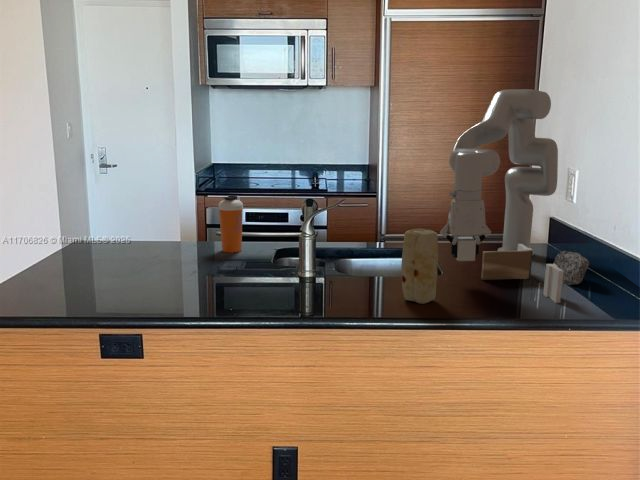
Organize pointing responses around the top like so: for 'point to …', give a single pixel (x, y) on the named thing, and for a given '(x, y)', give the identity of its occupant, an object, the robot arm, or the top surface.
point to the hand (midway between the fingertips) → (464, 256)
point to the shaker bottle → (231, 223)
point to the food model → (419, 265)
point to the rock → (571, 266)
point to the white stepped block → (466, 249)
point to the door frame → (550, 279)
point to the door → (506, 265)
